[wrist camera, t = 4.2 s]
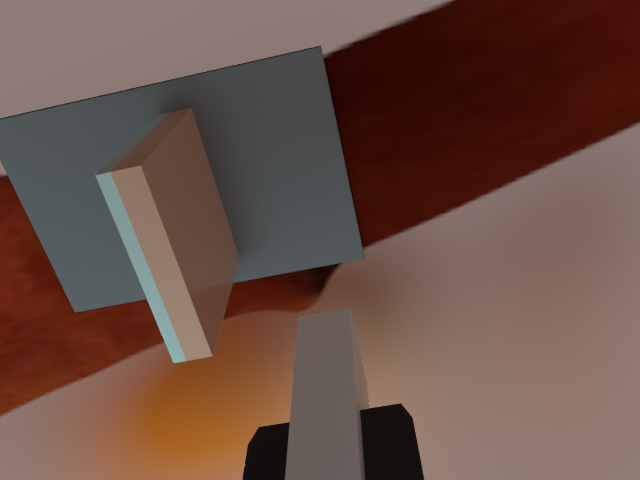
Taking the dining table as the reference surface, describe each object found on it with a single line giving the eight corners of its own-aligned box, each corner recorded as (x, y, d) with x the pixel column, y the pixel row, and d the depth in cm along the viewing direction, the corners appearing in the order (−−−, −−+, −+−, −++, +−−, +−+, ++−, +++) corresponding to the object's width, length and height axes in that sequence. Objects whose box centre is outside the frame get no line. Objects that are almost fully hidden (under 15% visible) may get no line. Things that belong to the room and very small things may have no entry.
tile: (210, 264, 33) (173, 363, 25) (158, 114, 29) (95, 175, 21) (239, 258, 33) (212, 356, 25) (191, 107, 29) (140, 165, 21)
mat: (77, 308, 35) (75, 312, 35) (-14, 121, 30) (-18, 123, 29) (364, 255, 33) (364, 258, 33) (320, 45, 28) (320, 46, 28)
